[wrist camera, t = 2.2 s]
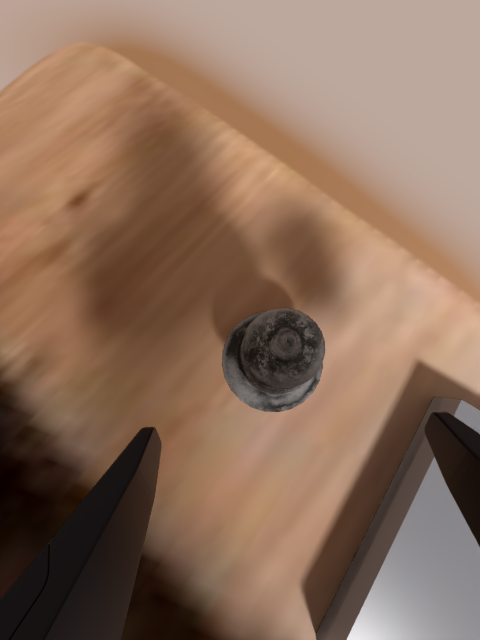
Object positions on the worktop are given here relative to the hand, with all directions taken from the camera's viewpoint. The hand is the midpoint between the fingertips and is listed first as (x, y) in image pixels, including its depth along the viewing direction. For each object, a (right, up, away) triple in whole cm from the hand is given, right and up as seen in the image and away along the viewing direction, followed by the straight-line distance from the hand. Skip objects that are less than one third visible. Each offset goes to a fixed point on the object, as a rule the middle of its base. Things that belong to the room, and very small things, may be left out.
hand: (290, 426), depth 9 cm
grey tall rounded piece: (0, 0, +11) cm, 11 cm away
